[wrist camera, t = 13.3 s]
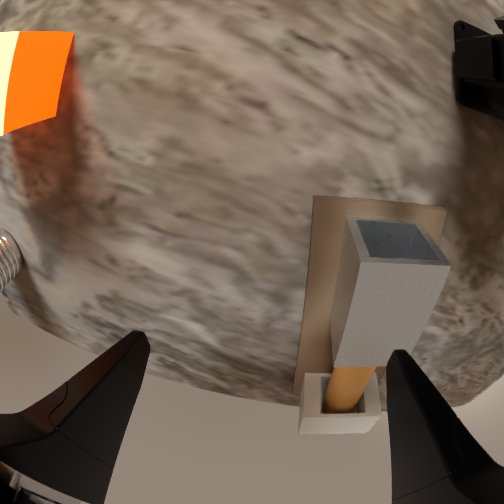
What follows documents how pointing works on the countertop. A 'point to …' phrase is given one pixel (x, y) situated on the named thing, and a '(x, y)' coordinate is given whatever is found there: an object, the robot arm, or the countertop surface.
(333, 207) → the walnut board
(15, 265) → the water bottle
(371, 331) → the steel sleeve
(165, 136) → the countertop surface
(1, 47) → the orange juice
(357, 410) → the white socket
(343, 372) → the orange tube
